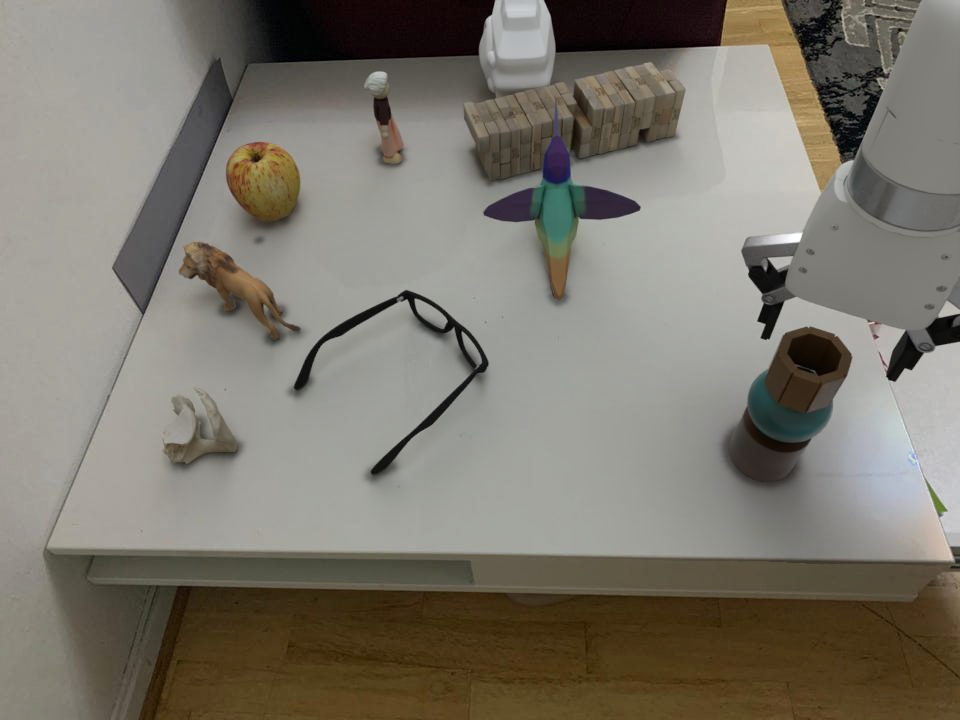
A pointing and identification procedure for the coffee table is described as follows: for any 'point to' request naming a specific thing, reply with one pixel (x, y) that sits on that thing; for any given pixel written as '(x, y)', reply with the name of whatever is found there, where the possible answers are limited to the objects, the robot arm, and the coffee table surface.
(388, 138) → the grandmother figurine
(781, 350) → the bronze ring
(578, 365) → the coffee table surface
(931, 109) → the robot arm
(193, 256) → the lion figurine
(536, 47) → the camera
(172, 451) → the bone
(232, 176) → the apple
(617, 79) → the block tower
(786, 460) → the ball stand
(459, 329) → the glasses
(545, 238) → the decorative sculpture
